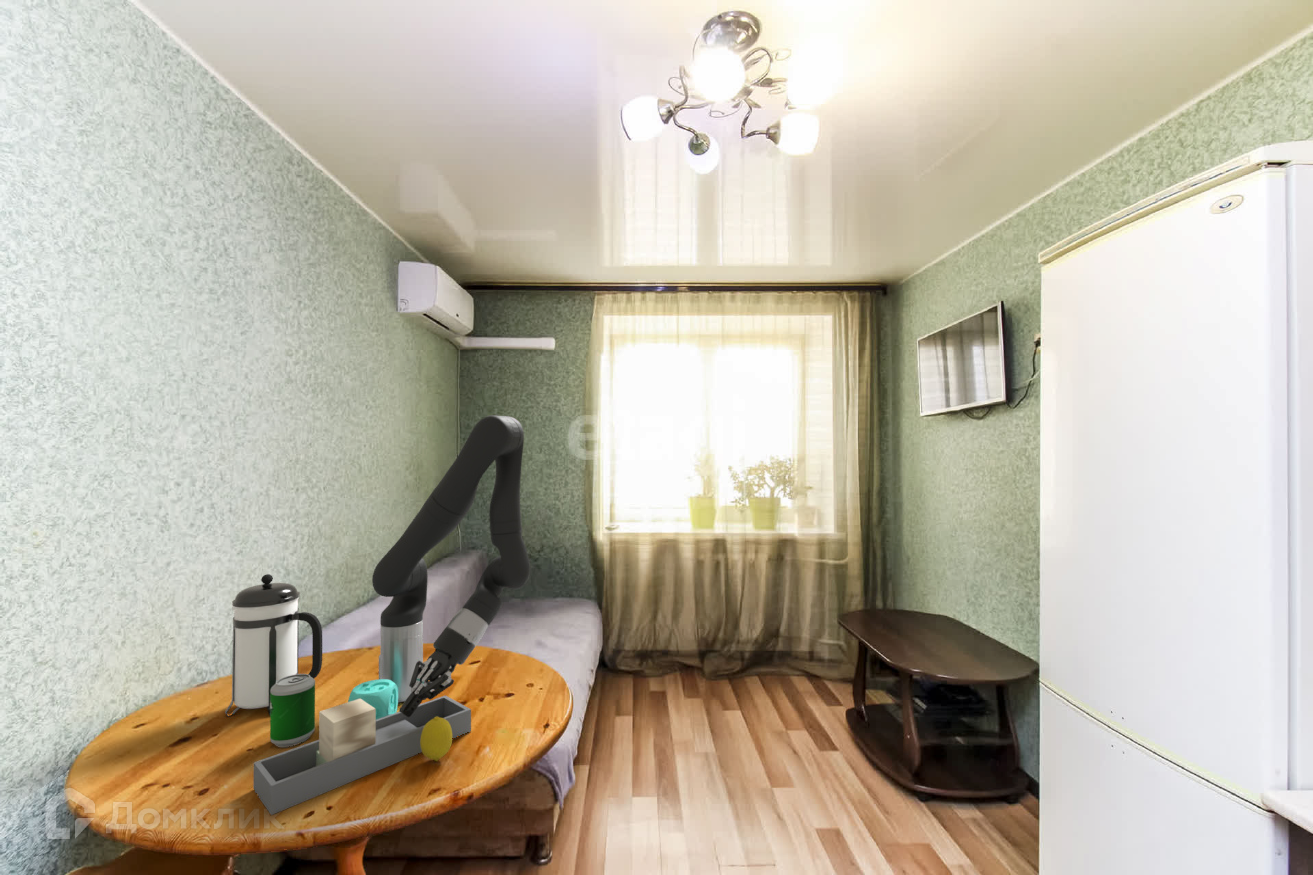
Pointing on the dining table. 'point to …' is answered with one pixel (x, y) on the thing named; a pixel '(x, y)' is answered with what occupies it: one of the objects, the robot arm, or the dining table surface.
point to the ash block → (346, 729)
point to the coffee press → (267, 641)
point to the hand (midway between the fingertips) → (403, 714)
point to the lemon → (436, 738)
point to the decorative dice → (378, 696)
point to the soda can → (292, 710)
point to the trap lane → (350, 756)
